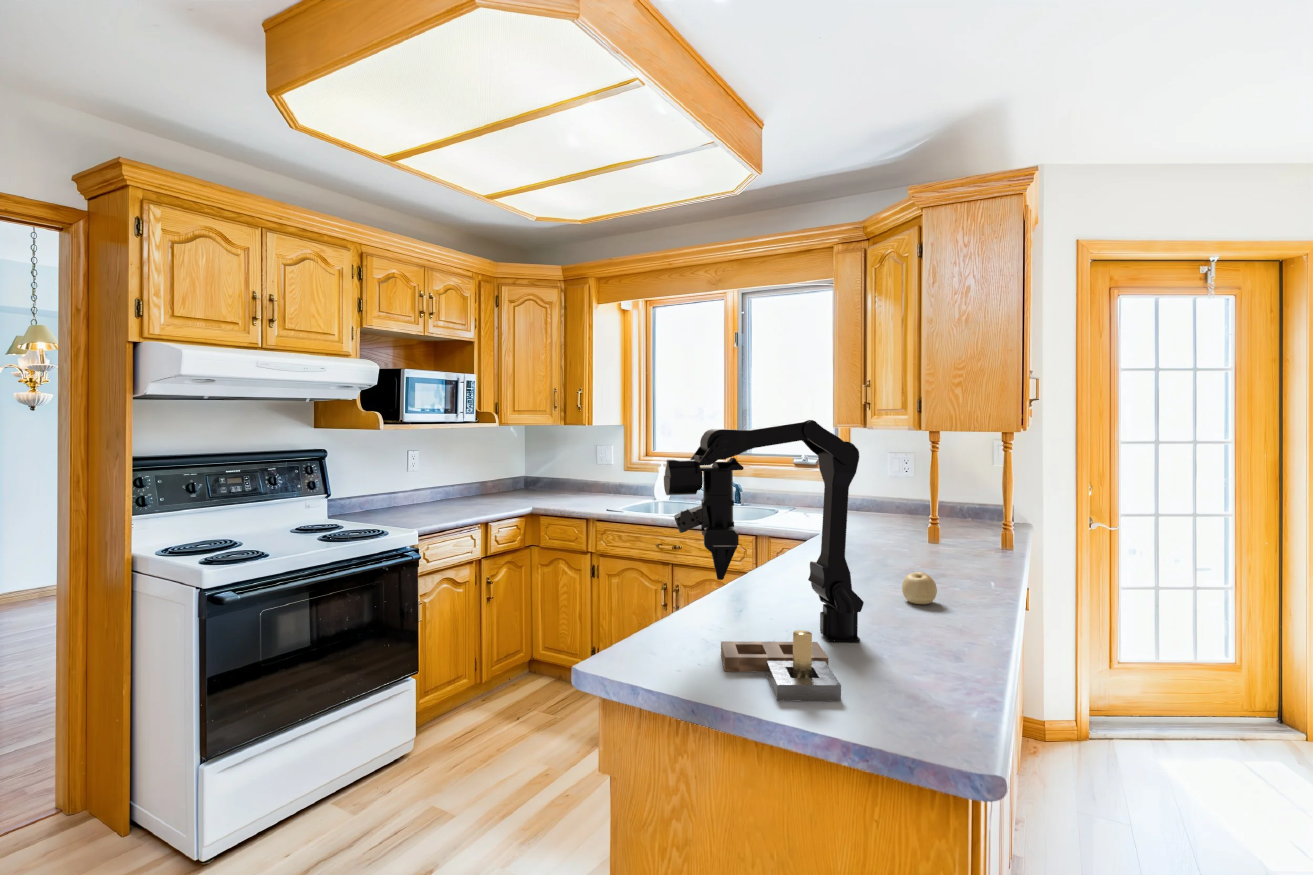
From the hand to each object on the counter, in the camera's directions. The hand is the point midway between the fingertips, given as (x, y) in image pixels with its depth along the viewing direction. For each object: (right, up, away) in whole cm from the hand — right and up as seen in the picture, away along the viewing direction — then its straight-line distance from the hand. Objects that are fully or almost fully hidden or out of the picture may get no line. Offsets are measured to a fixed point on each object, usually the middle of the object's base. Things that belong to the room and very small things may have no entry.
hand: (718, 573), depth 124 cm
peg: (+12, -15, -19) cm, 27 cm away
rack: (+9, -14, -9) cm, 19 cm away
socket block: (+12, -15, -19) cm, 27 cm away
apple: (+51, -14, +30) cm, 61 cm away
